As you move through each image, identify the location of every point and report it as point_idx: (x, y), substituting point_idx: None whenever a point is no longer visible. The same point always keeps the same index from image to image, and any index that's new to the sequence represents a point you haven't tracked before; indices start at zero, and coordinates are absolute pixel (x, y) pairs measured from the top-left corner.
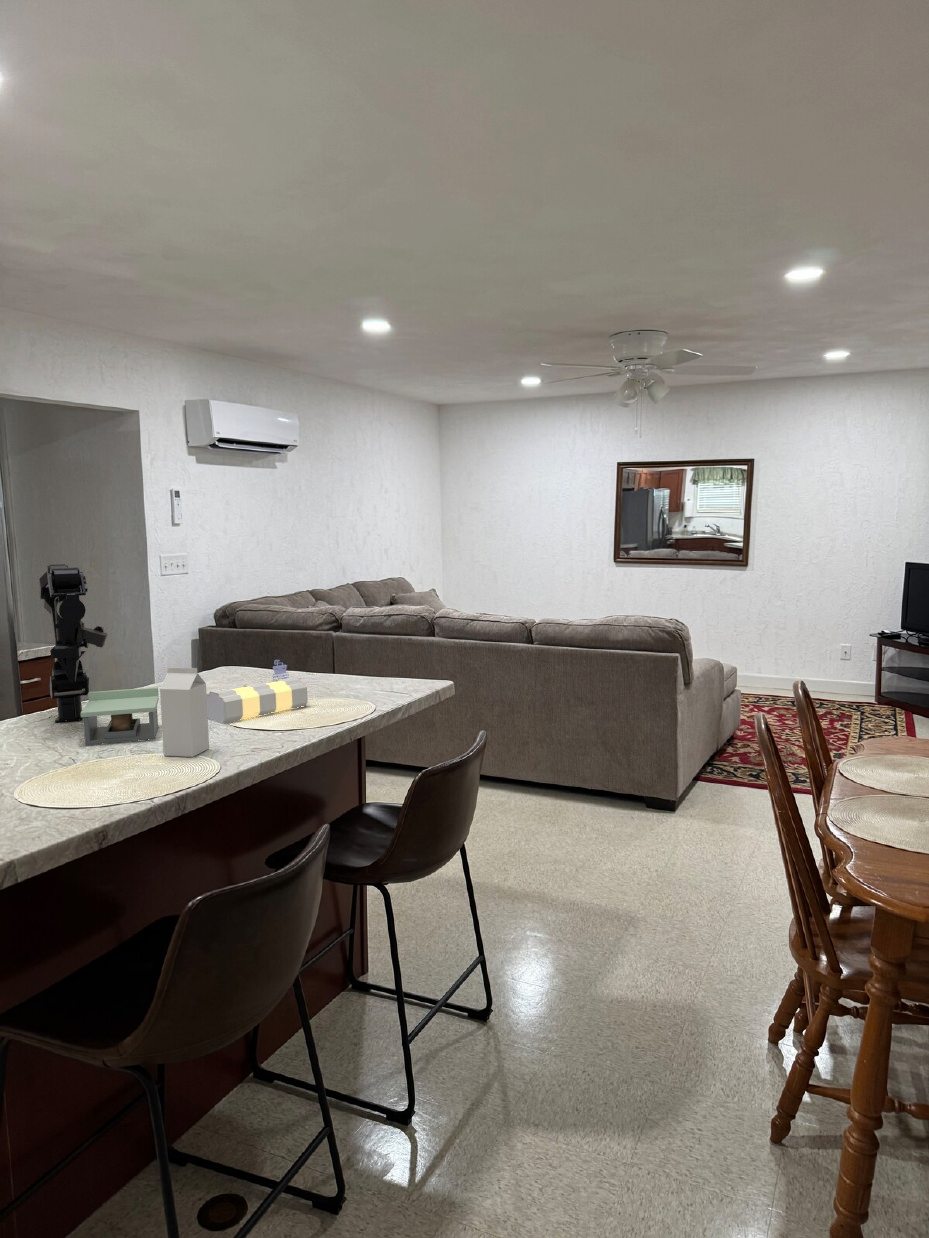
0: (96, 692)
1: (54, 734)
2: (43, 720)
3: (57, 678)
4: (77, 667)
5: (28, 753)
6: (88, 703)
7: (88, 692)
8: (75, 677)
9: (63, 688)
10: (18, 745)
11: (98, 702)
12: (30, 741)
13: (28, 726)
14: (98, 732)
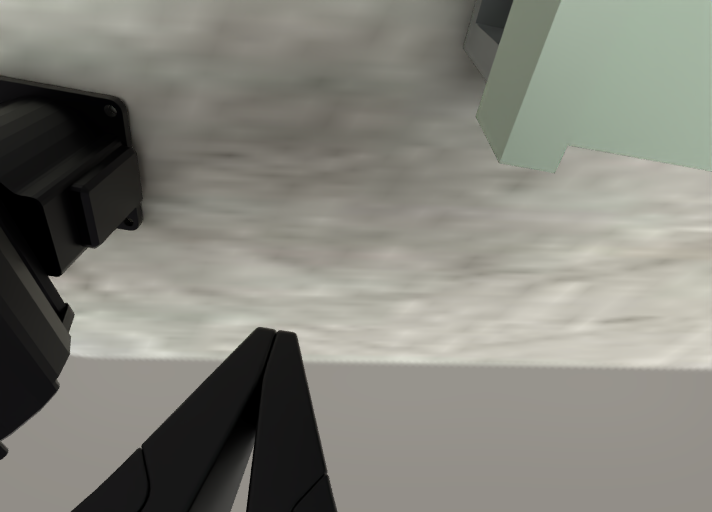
0: (596, 80)
1: (406, 235)
2: (72, 263)
3: (14, 413)
4: (170, 449)
5: (697, 325)
6: (662, 147)
7: (533, 168)
8: (289, 359)
9: (48, 311)
10: (522, 346)
11: (702, 49)
12: (482, 314)
13: (184, 312)
14: None
